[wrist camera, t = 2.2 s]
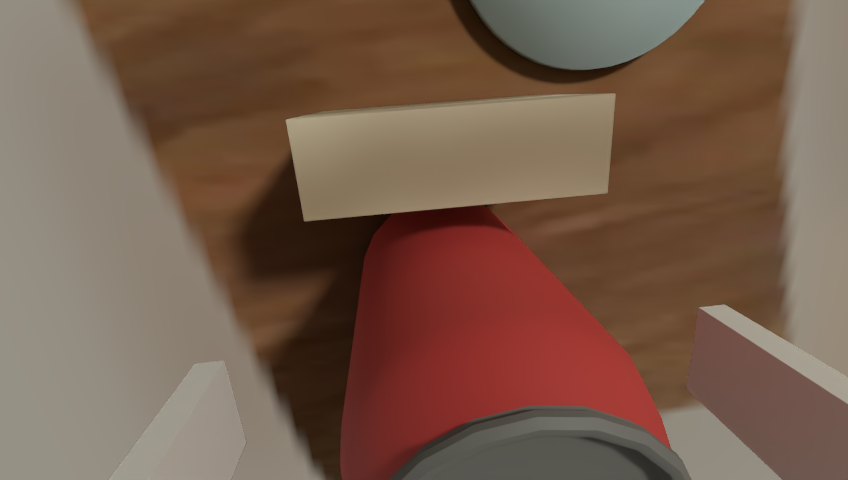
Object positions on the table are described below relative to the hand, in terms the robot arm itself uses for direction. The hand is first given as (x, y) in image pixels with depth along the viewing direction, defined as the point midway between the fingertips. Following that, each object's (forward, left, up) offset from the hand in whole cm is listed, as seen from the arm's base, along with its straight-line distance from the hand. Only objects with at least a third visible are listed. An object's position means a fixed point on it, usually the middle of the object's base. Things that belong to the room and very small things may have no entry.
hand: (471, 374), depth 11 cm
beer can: (0, 0, -7) cm, 7 cm away
